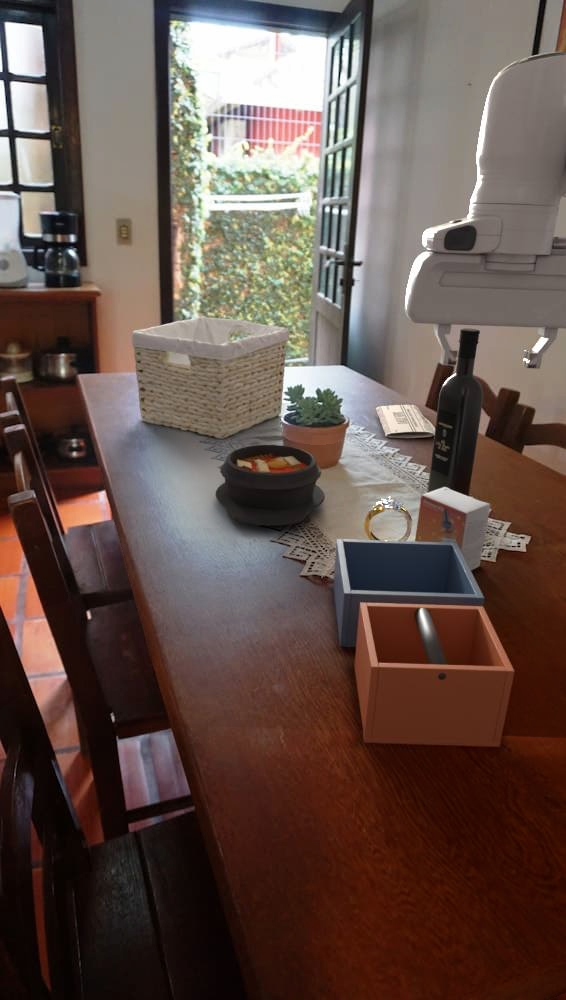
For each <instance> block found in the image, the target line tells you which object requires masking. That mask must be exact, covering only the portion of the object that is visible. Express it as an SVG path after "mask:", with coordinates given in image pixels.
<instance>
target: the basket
mask: <svg viewBox="0 0 566 1000" xmlns="http://www.w3.org/2000/svg"><path fill="white" fill-rule="evenodd" d="M232 334H234V335H236V336H239V335H245V336H247V337H243V338H238V339H235V340H232V341H231V336H232ZM289 338H290V330H289V329H288V328H286V327H284V326H275V325H268V324H261V323H256V322H253V321H245V320H243V319H234V318H219V317H207V316H206V315H203V316H196V317H194V318H190V319H183V320H177V321H173V322H170V323H169V322H168V323H165V324H161V325H157V326H151V327H147V328H141V329H135V330H133V331H132V333H131V344H132V347H133V352H134V361H135V369H136V370H135V374H136V381H137V389H138V390H137V392H138V403H139V404H138V405H139V406H138V407H139V412H140V418H141V420H142V422H145V423H149V424H153V425H155V424H156V425H159V426H164V427H172V428H175V429H180V430H182V431H191V432H194V433H196V432H197V433H198V434H199V435H207V436H209V437H214V438H215V439H219V440H223V439H225V438H228V437H229V436H233V435H235V434H237V433H239V432H240V431H243V430H248V429H250V428H252V427H253V426H254V425H258V424H261V423H263V422H265V421H266V420H270V419H273V418H276V417H277V416H280V415H281V414H282V406H283V392H284V379H285V378H284V377H285V366H286V365H285V364H286V355H287V345H288V340H289Z"/></svg>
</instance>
